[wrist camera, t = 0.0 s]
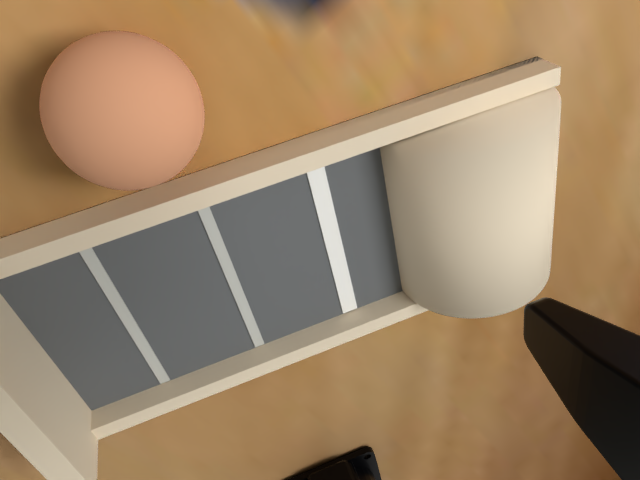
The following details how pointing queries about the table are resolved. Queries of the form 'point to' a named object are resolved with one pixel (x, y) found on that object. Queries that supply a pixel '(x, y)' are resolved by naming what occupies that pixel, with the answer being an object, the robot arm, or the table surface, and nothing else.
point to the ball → (122, 110)
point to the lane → (276, 261)
